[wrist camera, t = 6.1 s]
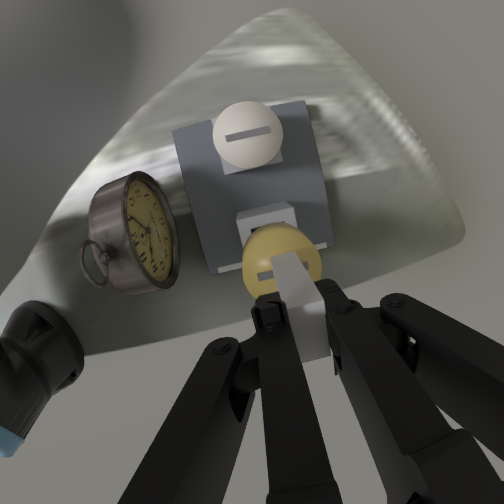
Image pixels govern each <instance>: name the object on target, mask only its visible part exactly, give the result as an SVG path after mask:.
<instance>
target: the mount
mask: <svg viewBox="0 0 504 504" xmlns="http://www.w3.org/2000/svg"><path fill="white" fill-rule="evenodd" d="M267 107H268V108H270V109H271V110H272V111H273V112H274V113H275V114H276V115H277V117H278V118H279V120H280V122H281V125H282V130H283V140H282V144H281V147H280V149H279V151H278V153H277V154H276V155H275V156H274V157H273V158H272V159H271V160H270V161H269V162H267V163H265V164H264V165H261V166H258V167H255V168H247V169H246V168H239V167H236V166H234V165H232V164H230V163H228V162H227V161H225V160H224V159H223V158H222V157H221V156H220V154H219V153H218V152H217V150H216V148H215V145H214V142H213V128H214V124H215V122H216V120H217V118H218V117H216V118H212V119H211V120H207V121H203V122H200V123H196V124H193V125H189V126H186V127H183V128H179V129H176V130H173V131H172V134H173V138H174V143H175V147H176V151H177V155H178V159H179V163H180V167H181V171H182V175H183V179H184V183H185V187H186V191H187V194H188V198H189V202H190V206H191V209H192V213H193V217H194V220H195V224H196V228H197V231H198V235H199V238H200V242H201V245H202V249H203V252H204V256H205V259H206V262H207V266H208V269H209V272H210V276H211V275H216V274H220V273H224V272H229V271H233V270H237V269H242V254H243V248H244V245H245V243H246V241H247V239H248V238H249V236H250V235H251V234H252V233H253V232H254V231H255V230H256V229H258V228H260V227H261V226H263V225H266V224H269V223H274V222H281V223H287V224H290V225H293V226H294V227H296V228H298V229H299V230H300V231H301V232H302V233H303V234H304V235H305V236H306V237H307V238H308V239H309V240H310V241H311V242H312V243H313V244H314V246H315V247H316V248H317V250H321V249H326V248H330V247H334V246H335V241H334V234H333V228H332V222H331V216H330V210H329V205H328V199H327V194H326V189H325V184H324V179H323V174H322V169H321V165H320V160H319V155H318V151H317V147H316V142H315V138H314V134H313V130H312V126H311V122H310V118H309V114H308V110H307V106H306V103H305V101H298V102H291V103H285V104H279V105H274V106H267Z"/></svg>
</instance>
